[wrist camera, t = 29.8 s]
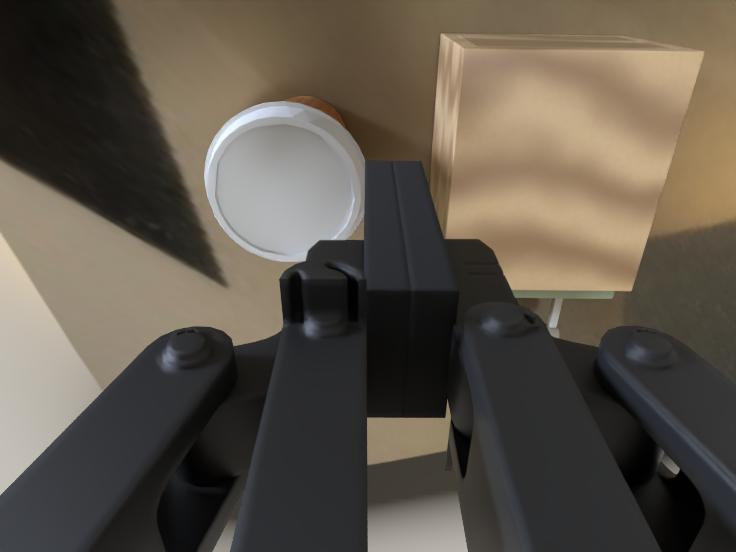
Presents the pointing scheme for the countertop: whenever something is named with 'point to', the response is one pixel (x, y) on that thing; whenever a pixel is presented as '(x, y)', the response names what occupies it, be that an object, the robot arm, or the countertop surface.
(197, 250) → the countertop surface
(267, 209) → the disposable coffee cup
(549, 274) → the cabinet
